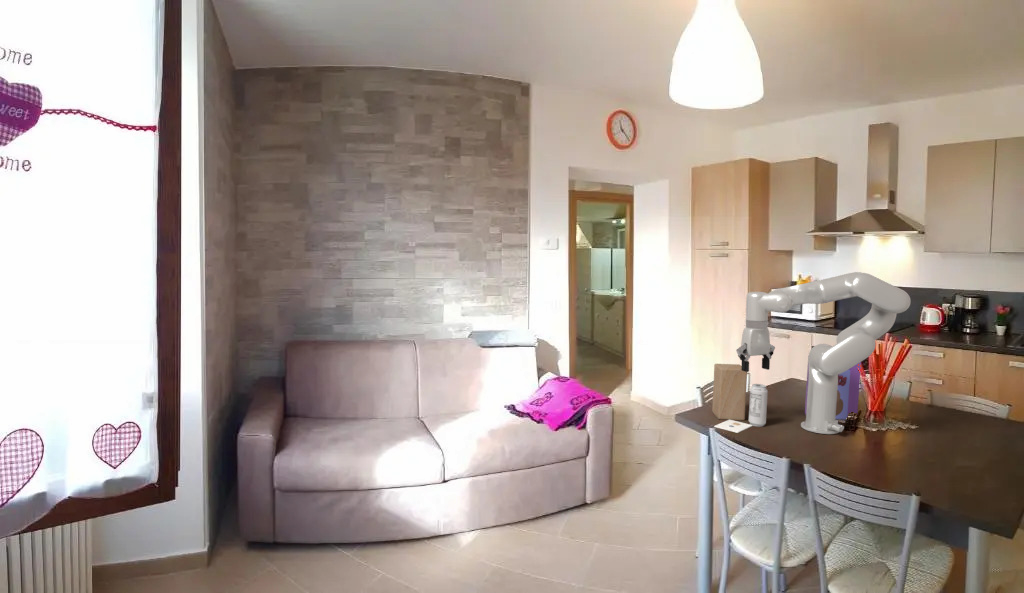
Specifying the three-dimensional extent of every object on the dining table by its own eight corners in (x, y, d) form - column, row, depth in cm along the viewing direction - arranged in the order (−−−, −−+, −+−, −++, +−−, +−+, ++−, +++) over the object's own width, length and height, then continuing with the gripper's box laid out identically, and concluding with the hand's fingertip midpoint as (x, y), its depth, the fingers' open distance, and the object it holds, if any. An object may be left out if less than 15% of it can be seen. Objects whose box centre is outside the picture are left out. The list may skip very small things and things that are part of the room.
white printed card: (752, 425, 214) (752, 424, 214) (737, 432, 206) (737, 431, 206) (729, 420, 220) (729, 419, 220) (714, 426, 212) (714, 425, 212)
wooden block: (737, 413, 230) (739, 364, 228) (745, 420, 220) (747, 369, 218) (711, 412, 231) (714, 363, 229) (718, 419, 221) (720, 368, 219)
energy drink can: (769, 426, 214) (771, 386, 212) (756, 427, 212) (759, 388, 210) (757, 421, 219) (759, 382, 218) (744, 422, 217) (746, 384, 216)
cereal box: (807, 417, 226) (811, 357, 223) (804, 413, 230) (808, 355, 228) (856, 421, 222) (861, 360, 219) (852, 417, 226) (856, 357, 224)
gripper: (767, 322, 220) (765, 366, 221) (730, 325, 214) (729, 370, 215) (782, 324, 213) (781, 370, 214) (745, 327, 207) (744, 374, 208)
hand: (755, 370), depth 215 cm, fingers open, 9 cm apart
